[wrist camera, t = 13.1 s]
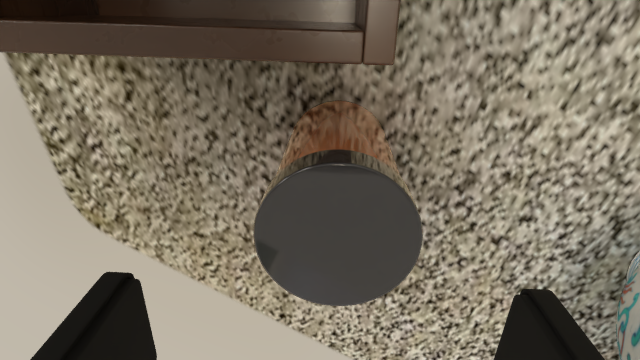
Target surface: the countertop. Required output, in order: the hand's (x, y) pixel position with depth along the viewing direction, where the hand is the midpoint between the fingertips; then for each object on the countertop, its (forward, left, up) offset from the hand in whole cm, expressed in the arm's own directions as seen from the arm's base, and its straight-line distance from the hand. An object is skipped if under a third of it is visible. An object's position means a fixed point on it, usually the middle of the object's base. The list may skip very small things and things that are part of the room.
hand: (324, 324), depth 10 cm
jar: (0, 0, -14) cm, 14 cm away
